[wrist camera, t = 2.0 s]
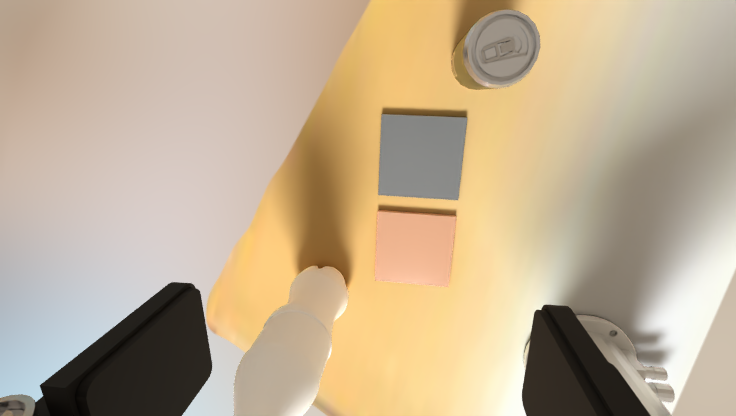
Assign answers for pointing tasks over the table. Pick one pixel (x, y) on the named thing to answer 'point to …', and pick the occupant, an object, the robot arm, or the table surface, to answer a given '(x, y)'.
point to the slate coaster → (421, 156)
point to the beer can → (496, 51)
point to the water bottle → (292, 348)
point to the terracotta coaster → (414, 247)
